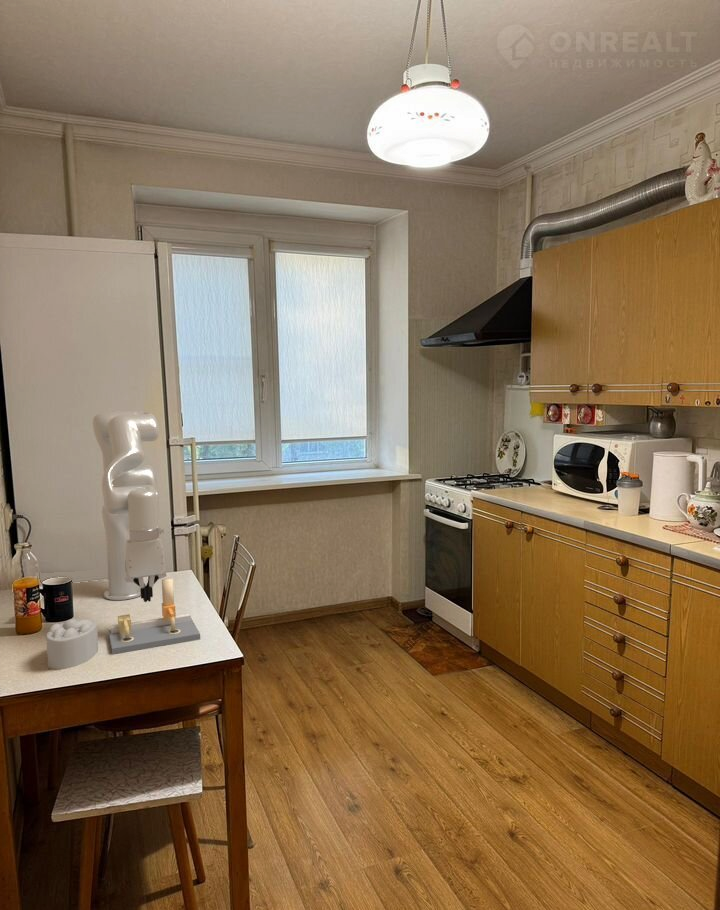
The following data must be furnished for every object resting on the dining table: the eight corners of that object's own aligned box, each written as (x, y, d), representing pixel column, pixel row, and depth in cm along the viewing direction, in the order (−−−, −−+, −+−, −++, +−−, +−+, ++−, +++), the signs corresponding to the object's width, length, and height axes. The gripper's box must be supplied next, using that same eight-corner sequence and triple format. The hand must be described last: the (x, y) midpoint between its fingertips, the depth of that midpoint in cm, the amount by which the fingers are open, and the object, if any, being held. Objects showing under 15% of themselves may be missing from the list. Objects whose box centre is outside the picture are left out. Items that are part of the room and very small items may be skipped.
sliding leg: (162, 620, 177) (160, 578, 176) (173, 618, 179) (171, 577, 177) (167, 631, 169) (165, 588, 167) (179, 629, 170) (177, 586, 169)
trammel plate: (108, 635, 172) (107, 617, 171) (190, 621, 181) (190, 604, 180) (112, 654, 159) (111, 634, 159) (200, 639, 168) (199, 620, 168)
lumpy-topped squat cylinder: (103, 647, 164) (101, 615, 163) (79, 669, 151) (77, 634, 150) (64, 647, 164) (62, 615, 163) (37, 669, 151) (34, 634, 150)
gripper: (169, 529, 178) (172, 592, 179) (113, 535, 171) (116, 600, 173) (174, 534, 171) (177, 600, 173) (116, 541, 164) (119, 608, 166)
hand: (146, 600), depth 173 cm, fingers closed
